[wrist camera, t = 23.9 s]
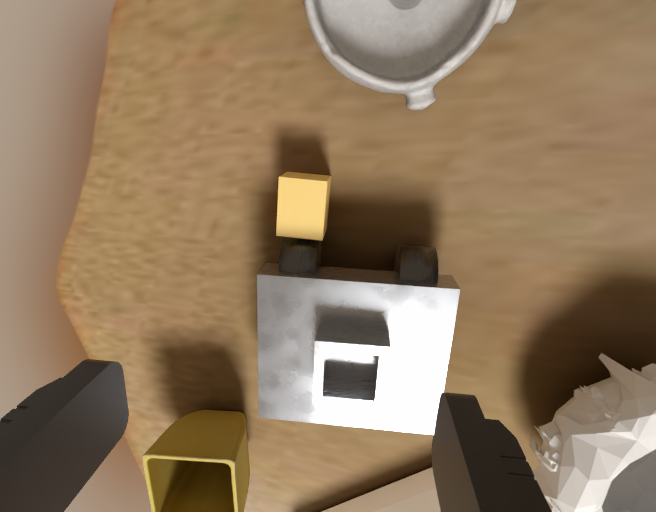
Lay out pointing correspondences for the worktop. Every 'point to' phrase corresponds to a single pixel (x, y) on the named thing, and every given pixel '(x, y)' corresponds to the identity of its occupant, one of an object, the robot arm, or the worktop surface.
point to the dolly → (354, 339)
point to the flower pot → (200, 464)
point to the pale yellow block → (303, 205)
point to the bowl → (602, 445)
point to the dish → (402, 40)
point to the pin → (405, 4)
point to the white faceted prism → (397, 497)
